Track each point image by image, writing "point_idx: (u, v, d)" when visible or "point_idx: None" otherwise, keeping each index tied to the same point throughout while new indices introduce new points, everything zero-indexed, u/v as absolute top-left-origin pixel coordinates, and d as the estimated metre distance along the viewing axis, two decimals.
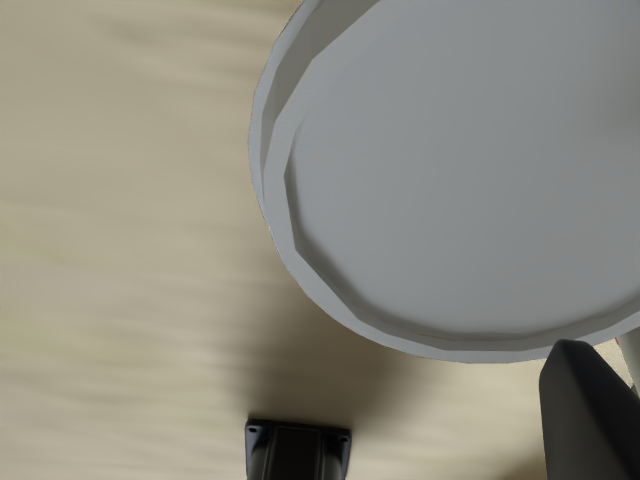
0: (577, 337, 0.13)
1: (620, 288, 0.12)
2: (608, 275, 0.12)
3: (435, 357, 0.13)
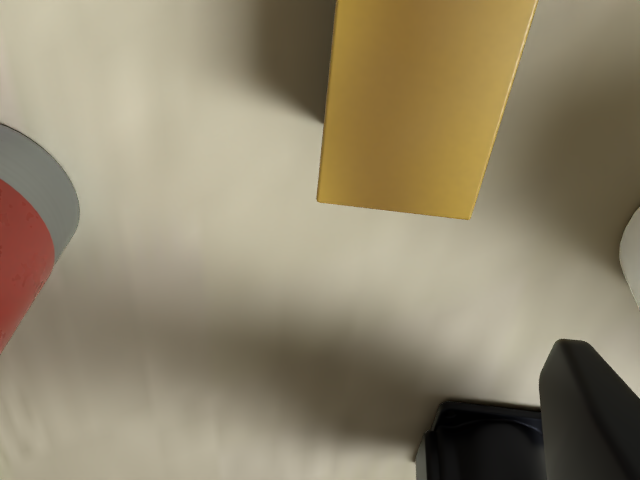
0: None
1: None
2: None
3: None
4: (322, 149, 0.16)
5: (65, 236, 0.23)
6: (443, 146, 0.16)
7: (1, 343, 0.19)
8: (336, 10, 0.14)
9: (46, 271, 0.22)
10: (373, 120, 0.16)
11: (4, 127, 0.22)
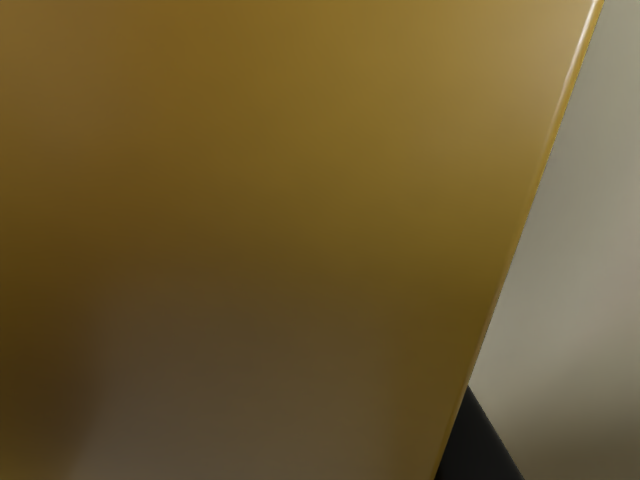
0: None
1: None
2: None
3: None
4: None
5: None
6: None
7: None
8: None
9: None
10: None
11: None
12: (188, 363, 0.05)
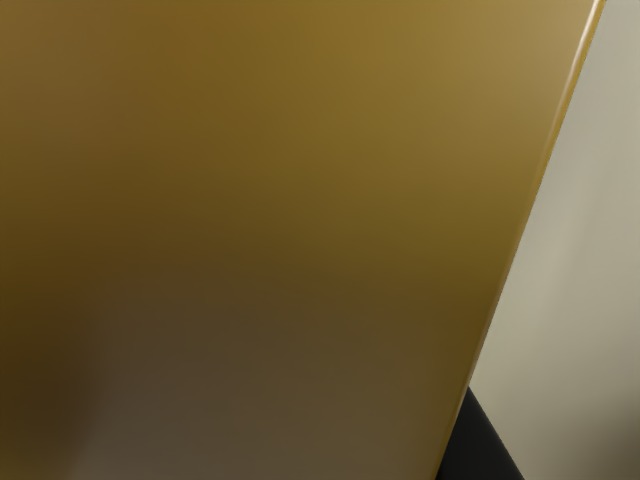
0: None
1: None
2: None
3: None
4: None
5: None
6: None
7: None
8: None
9: None
10: None
11: None
12: (188, 363, 0.05)
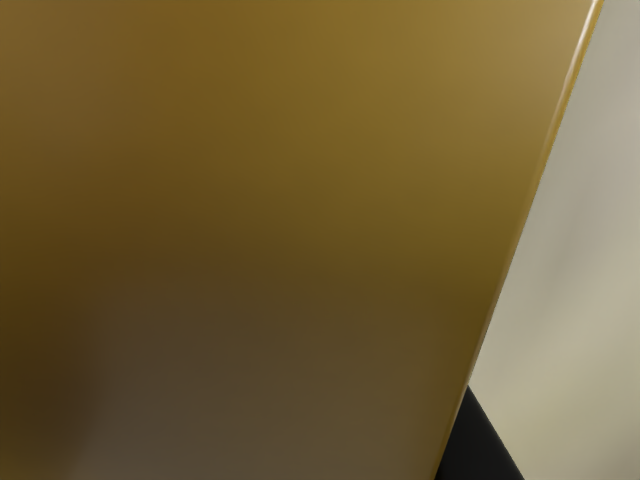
0: None
1: None
2: None
3: None
4: None
5: None
6: None
7: None
8: None
9: None
10: None
11: None
12: (187, 363, 0.05)
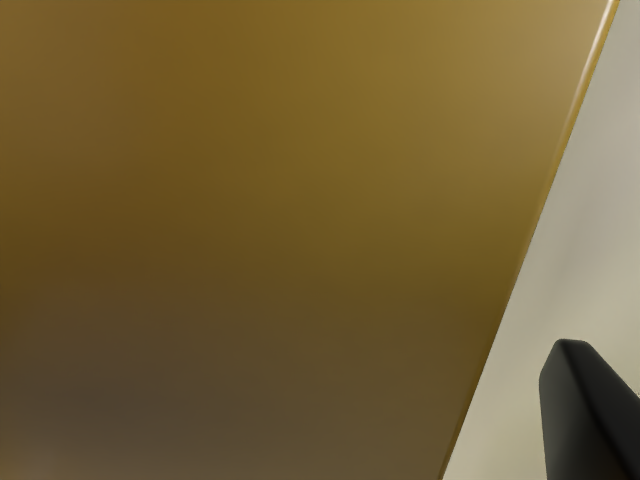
0: None
1: None
2: None
3: None
4: None
5: None
6: None
7: None
8: None
9: None
10: None
11: None
12: (193, 375, 0.05)
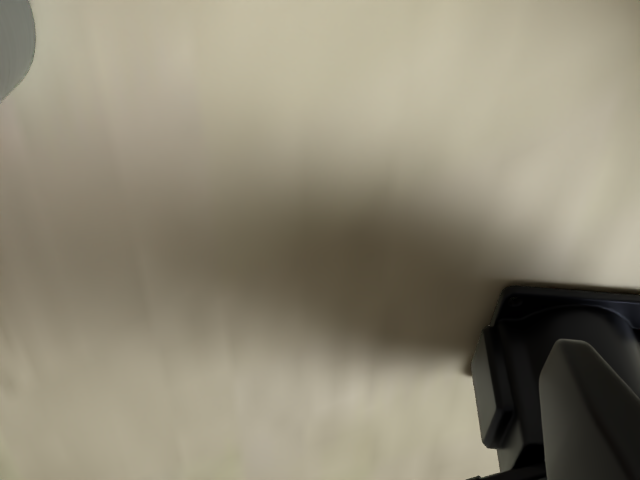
0: None
1: None
2: None
3: None
4: None
5: (14, 50, 0.17)
6: None
7: None
8: None
9: None
10: None
11: None
12: None
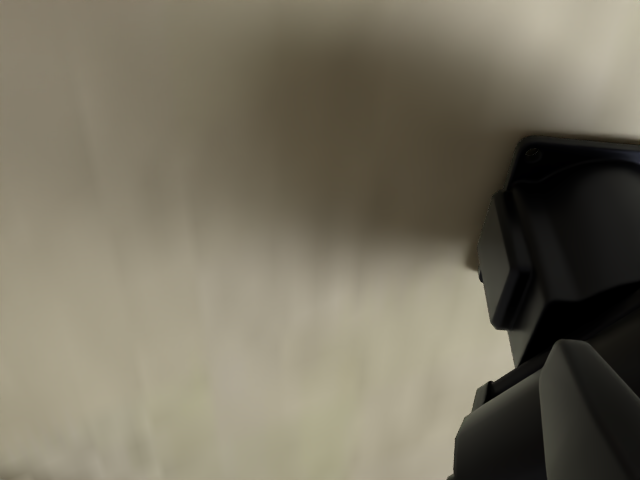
0: None
1: None
2: None
3: None
4: None
5: None
6: None
7: None
8: None
9: None
10: None
11: None
12: None
